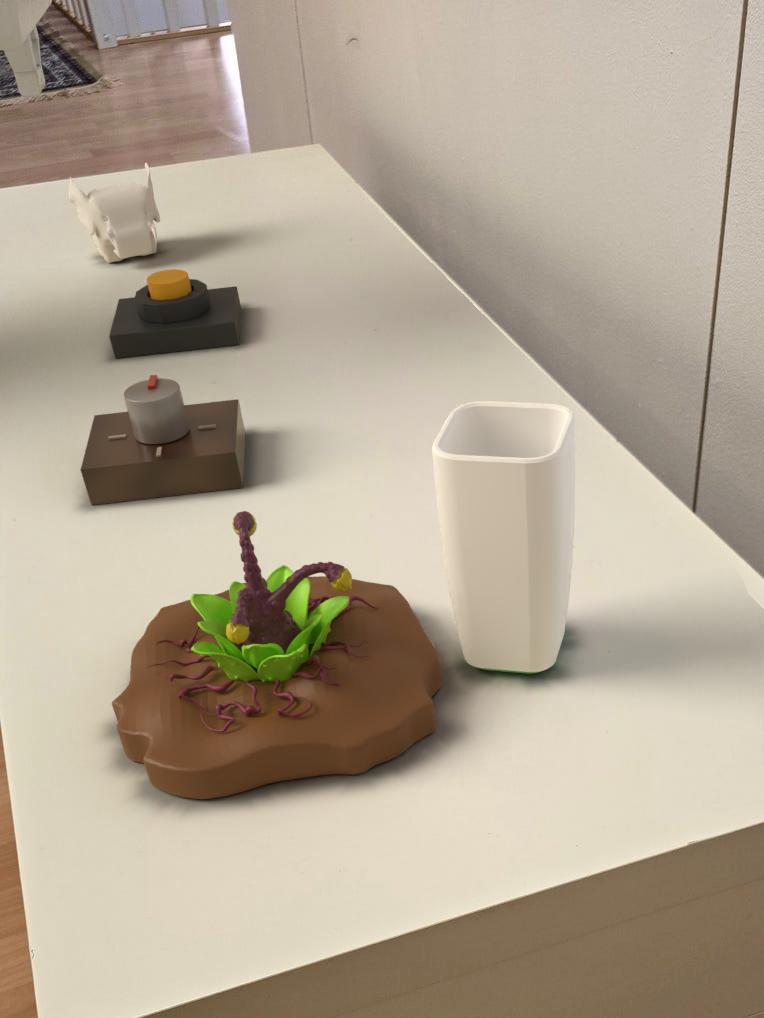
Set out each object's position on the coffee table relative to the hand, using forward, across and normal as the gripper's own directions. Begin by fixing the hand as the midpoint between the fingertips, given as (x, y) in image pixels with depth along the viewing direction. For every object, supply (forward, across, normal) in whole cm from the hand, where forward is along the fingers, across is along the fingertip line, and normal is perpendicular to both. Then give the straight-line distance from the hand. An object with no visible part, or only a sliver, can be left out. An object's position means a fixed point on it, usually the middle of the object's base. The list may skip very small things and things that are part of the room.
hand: (33, 92), depth 102 cm
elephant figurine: (+23, -30, 0) cm, 38 cm away
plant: (+22, +58, +17) cm, 64 cm away
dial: (+19, +24, +8) cm, 32 cm away
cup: (+22, +57, +32) cm, 69 cm away
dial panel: (+22, +24, +8) cm, 34 cm away
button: (+19, -6, +7) cm, 21 cm away
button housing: (+22, -6, +7) cm, 24 cm away
